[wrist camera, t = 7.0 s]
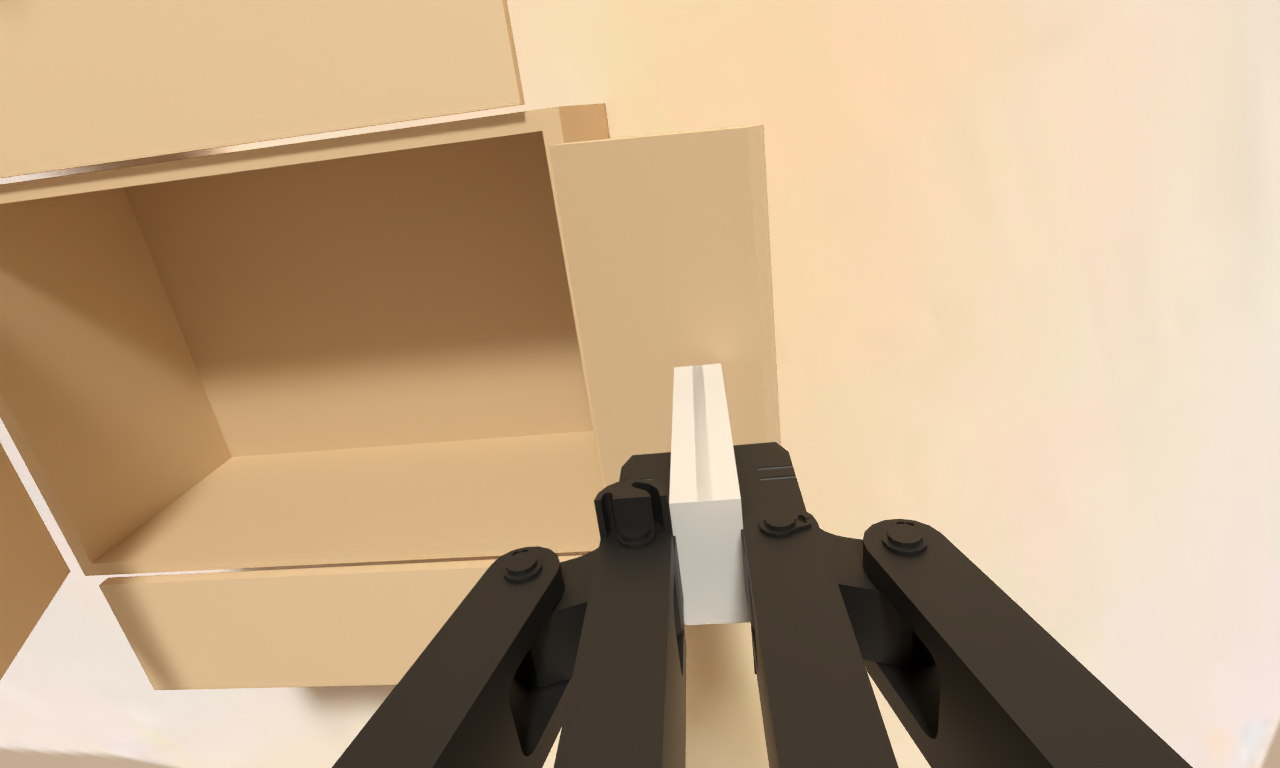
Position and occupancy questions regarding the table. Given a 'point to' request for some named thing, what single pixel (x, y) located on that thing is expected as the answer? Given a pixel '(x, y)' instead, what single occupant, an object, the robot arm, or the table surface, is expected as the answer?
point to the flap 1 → (23, 564)
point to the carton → (289, 322)
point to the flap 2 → (670, 279)
